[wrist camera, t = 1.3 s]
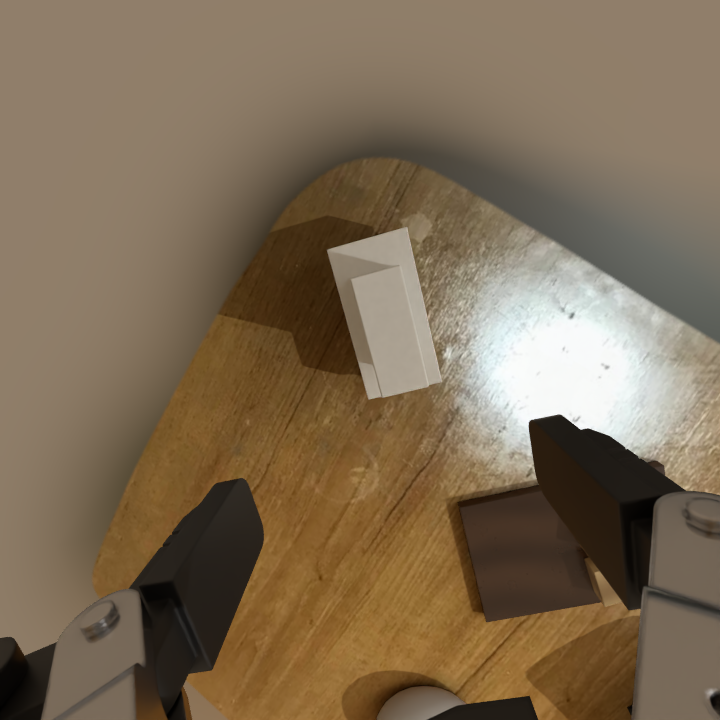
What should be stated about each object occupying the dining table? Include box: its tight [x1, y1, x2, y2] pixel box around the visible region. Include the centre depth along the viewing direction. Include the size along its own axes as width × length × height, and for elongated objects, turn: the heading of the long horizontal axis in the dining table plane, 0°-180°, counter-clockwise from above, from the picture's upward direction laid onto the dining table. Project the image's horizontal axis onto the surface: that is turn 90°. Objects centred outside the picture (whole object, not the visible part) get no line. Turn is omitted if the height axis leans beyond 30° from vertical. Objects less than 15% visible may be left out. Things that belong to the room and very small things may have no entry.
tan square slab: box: [584, 557, 622, 607], centre depth 30 cm, size 4×4×2 cm
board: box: [458, 461, 665, 622], centre depth 31 cm, size 12×16×1 cm
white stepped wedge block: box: [327, 227, 442, 399], centre depth 22 cm, size 5×10×10 cm, turn 15°
